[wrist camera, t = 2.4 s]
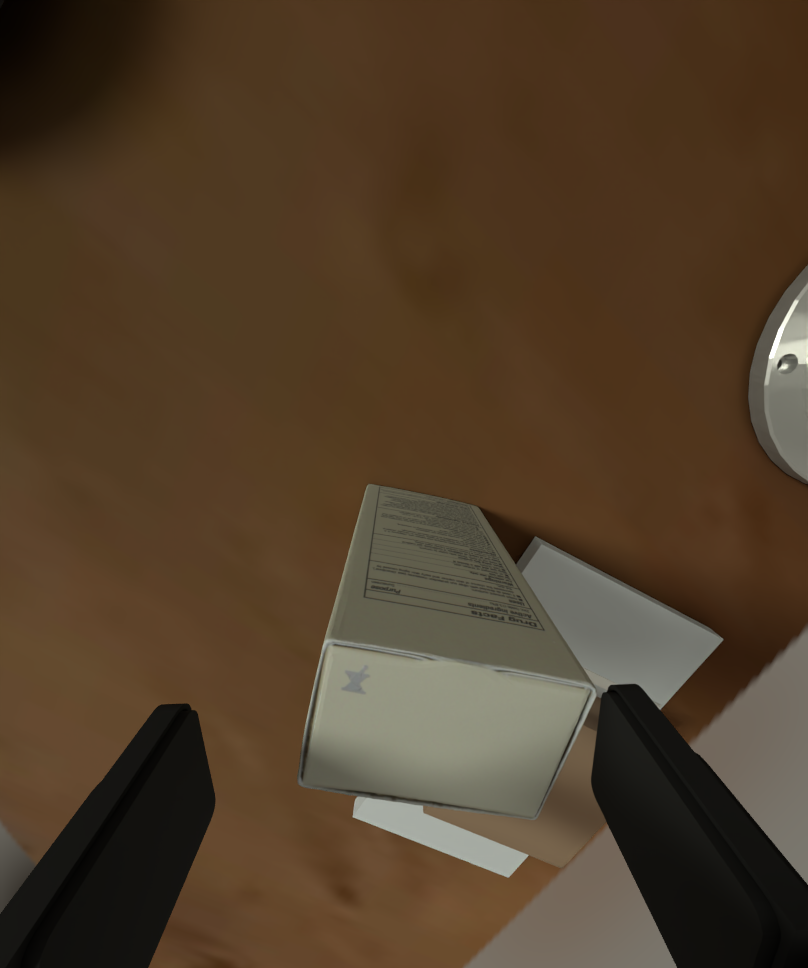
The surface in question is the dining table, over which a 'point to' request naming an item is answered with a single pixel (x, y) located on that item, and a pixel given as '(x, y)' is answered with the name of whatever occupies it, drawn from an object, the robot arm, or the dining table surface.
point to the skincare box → (440, 669)
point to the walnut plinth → (548, 809)
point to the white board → (603, 655)
